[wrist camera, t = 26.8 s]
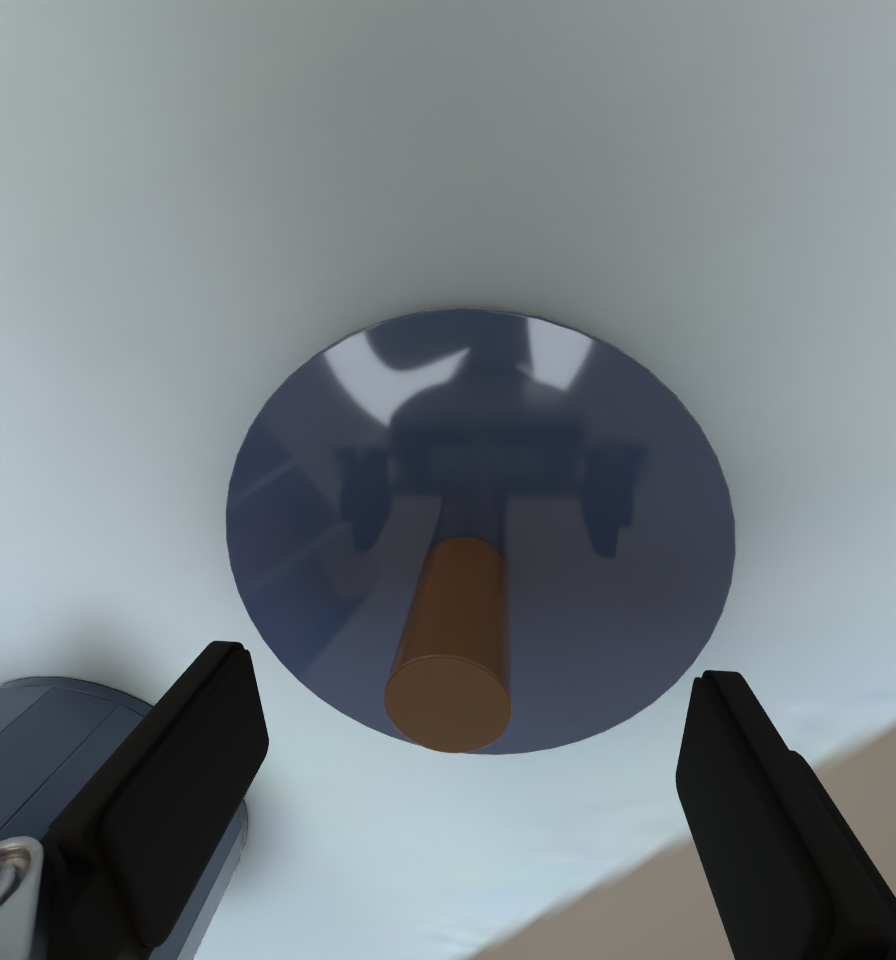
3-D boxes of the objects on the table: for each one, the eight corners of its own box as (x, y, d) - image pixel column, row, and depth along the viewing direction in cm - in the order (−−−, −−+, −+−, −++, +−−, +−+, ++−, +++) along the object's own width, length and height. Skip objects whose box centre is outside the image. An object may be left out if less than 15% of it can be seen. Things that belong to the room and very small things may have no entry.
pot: (-4, 870, 25) (-231, 1127, 18) (-74, 587, 18) (-512, 809, 10) (236, 937, 25) (115, 1228, 17) (263, 678, 18) (75, 976, 10)
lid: (233, 666, 18) (112, 834, 12) (262, 245, 12) (61, 204, 7) (611, 768, 18) (660, 986, 12) (819, 385, 12) (1089, 463, 6)
